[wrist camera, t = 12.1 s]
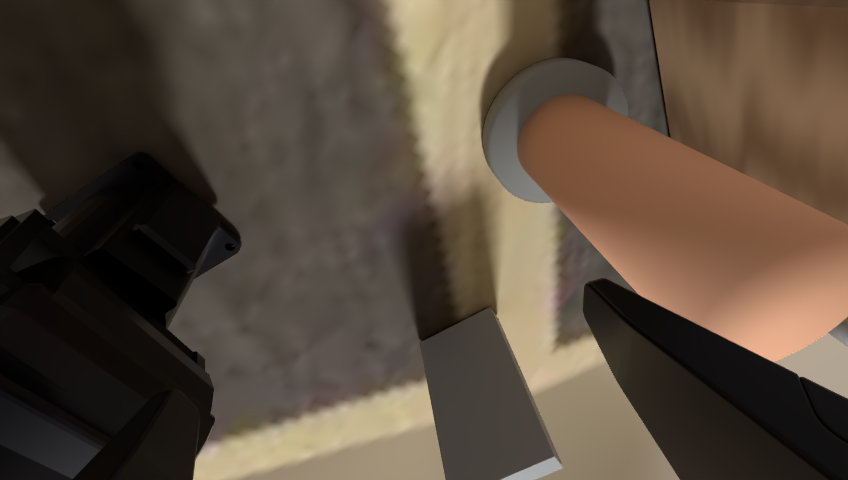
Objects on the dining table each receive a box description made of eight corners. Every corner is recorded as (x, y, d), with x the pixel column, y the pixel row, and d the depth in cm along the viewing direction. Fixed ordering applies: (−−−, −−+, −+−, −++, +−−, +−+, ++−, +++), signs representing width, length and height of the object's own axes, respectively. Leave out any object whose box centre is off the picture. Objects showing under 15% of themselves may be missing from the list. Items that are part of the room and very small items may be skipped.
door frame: (429, 353, 28) (462, 510, 20) (419, 342, 28) (449, 501, 19) (753, 191, 25) (962, 300, 16) (752, 173, 24) (973, 277, 15)
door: (722, 212, 25) (905, 326, 17) (682, 232, 25) (842, 352, 17) (703, -35, 17) (1043, -53, 9) (645, 0, 17) (916, 15, 9)
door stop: (496, 206, 22) (638, 428, 11) (469, 86, 18) (650, 246, 7) (612, 166, 22) (875, 352, 11) (610, 35, 18) (1022, 121, 7)
